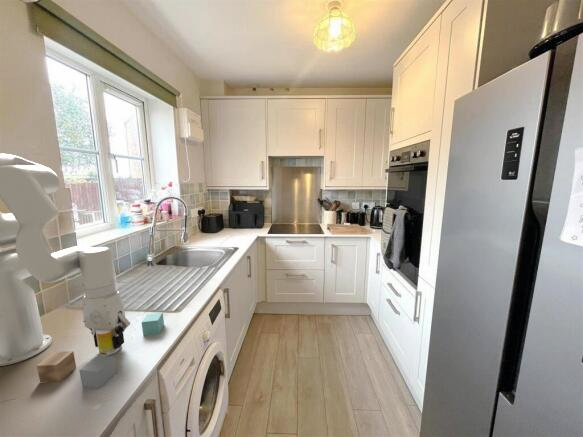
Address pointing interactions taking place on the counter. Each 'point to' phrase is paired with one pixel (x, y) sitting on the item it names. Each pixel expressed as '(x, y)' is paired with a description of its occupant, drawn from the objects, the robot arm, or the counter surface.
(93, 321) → the robot arm
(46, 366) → the walnut block
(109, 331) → the supplement bottle
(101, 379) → the slate block
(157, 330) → the teal block
